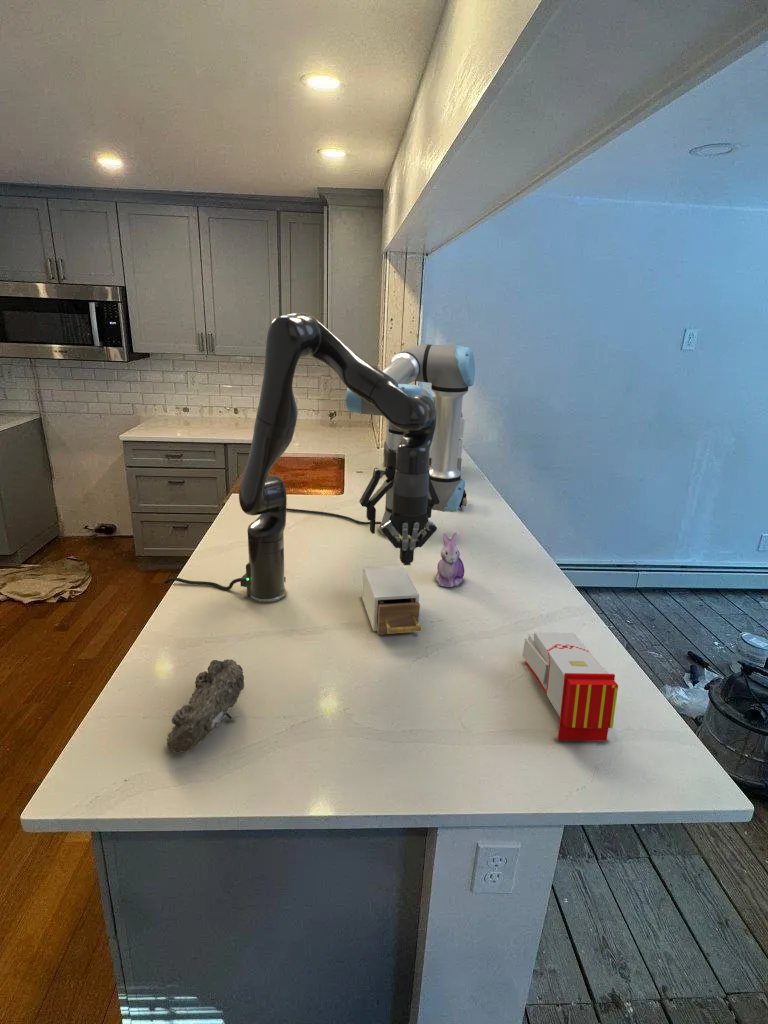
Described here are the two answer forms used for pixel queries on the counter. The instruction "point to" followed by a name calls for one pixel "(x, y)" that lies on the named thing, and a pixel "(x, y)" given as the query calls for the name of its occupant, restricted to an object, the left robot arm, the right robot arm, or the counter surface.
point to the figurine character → (463, 500)
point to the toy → (573, 684)
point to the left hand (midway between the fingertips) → (406, 563)
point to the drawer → (398, 616)
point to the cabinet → (385, 588)
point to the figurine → (450, 563)
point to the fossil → (206, 705)
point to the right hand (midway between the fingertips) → (398, 530)
